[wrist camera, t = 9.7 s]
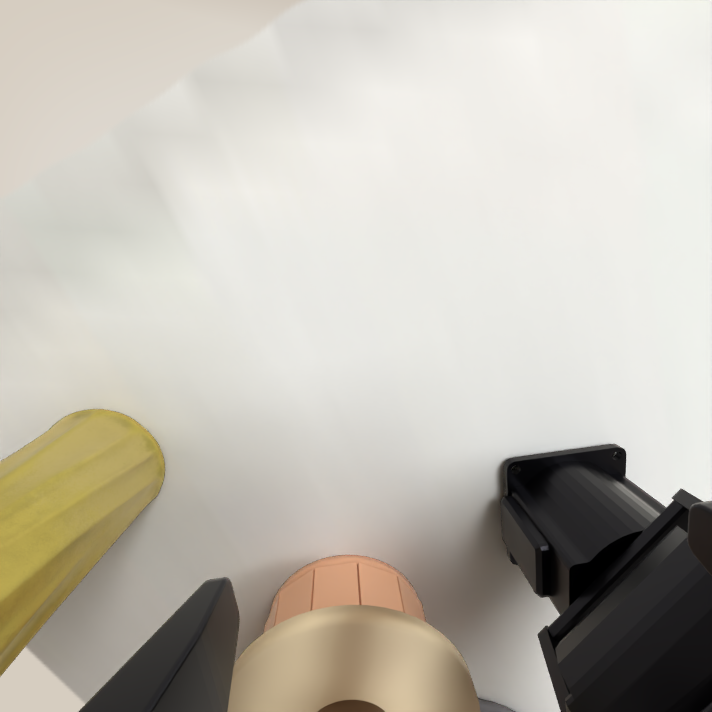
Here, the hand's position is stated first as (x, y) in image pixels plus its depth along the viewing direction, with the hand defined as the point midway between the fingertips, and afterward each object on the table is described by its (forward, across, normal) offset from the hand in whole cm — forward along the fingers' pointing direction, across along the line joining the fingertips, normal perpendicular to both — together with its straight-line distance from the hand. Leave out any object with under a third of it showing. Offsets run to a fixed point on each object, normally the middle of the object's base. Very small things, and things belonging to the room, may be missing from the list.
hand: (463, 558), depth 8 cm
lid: (+8, +4, +15) cm, 17 cm away
